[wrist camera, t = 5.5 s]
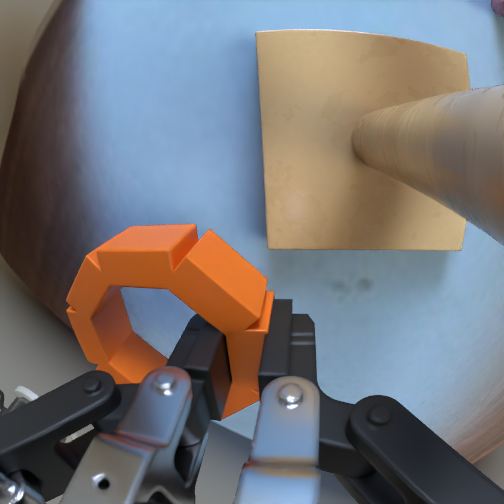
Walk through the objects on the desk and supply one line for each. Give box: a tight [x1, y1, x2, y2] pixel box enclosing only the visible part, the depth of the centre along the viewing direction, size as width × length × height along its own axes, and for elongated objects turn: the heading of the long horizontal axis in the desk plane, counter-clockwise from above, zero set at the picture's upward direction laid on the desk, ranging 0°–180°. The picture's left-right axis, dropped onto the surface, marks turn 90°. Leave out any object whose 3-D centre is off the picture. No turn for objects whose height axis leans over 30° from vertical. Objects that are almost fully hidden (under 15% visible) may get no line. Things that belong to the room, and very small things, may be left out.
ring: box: [66, 224, 274, 420], centre depth 10 cm, size 7×7×2 cm
